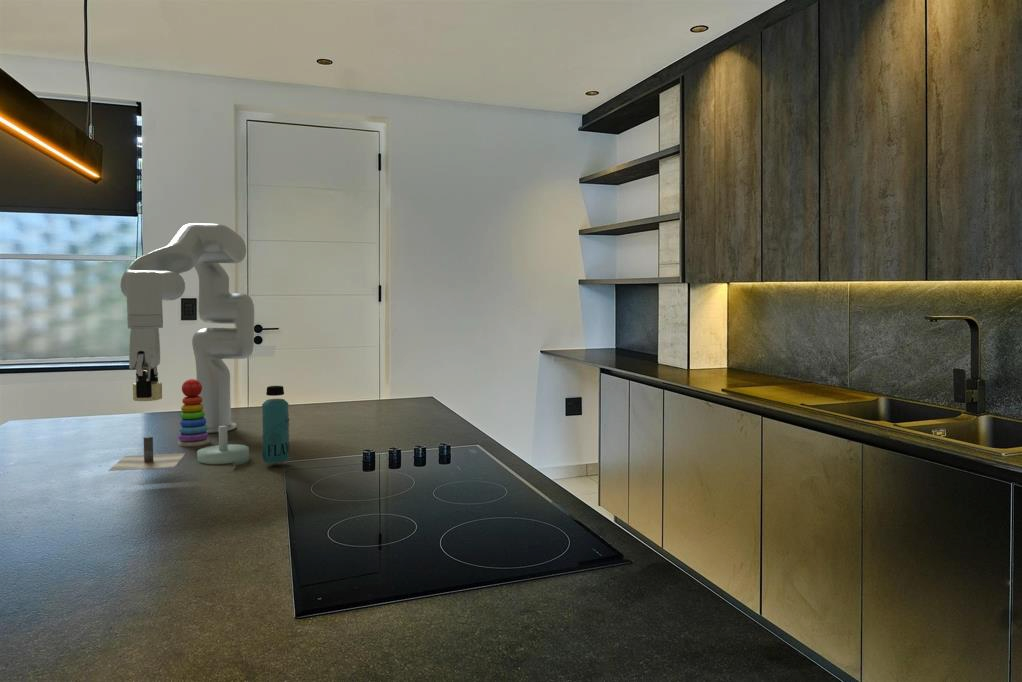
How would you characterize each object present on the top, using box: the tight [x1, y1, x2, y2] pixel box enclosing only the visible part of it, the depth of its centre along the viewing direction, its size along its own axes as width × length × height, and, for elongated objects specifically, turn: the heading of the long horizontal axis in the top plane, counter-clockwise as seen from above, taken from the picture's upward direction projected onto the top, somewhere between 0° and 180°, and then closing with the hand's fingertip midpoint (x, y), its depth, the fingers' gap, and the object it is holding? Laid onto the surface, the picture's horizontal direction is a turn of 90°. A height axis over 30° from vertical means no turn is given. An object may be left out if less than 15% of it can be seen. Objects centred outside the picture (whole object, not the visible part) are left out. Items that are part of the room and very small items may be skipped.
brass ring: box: [132, 380, 163, 402], centre depth 160 cm, size 6×6×4 cm
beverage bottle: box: [261, 385, 290, 464], centre depth 162 cm, size 6×7×20 cm
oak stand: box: [107, 436, 186, 472], centre depth 161 cm, size 14×14×7 cm
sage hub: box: [196, 426, 250, 467], centre depth 166 cm, size 12×12×9 cm
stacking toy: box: [177, 378, 210, 447], centre depth 181 cm, size 8×8×19 cm
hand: (147, 394), depth 160 cm, fingers closed on brass ring, 6 cm apart
